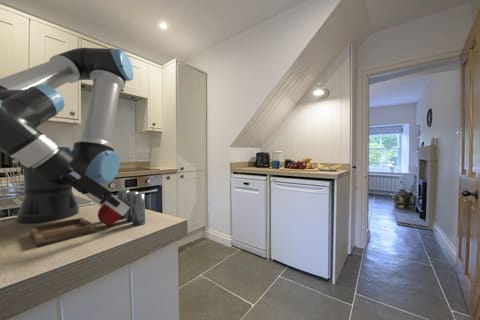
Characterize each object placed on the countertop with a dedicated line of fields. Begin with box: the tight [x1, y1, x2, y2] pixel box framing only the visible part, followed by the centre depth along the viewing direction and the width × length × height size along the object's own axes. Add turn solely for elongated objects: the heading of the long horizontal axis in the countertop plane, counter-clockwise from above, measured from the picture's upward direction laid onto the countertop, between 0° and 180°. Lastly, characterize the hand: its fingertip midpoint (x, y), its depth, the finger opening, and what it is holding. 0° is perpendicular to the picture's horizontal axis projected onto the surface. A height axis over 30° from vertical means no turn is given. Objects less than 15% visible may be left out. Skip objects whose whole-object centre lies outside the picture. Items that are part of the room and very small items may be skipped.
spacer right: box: [132, 192, 146, 227], centre depth 61 cm, size 3×3×9 cm
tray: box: [29, 217, 96, 248], centre depth 53 cm, size 11×11×2 cm
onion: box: [97, 204, 121, 227], centre depth 59 cm, size 6×6×8 cm
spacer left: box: [117, 189, 131, 220], centre depth 67 cm, size 3×3×9 cm
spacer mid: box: [126, 190, 139, 223], centre depth 64 cm, size 3×3×9 cm
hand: (115, 207), depth 60 cm, fingers open, 13 cm apart
